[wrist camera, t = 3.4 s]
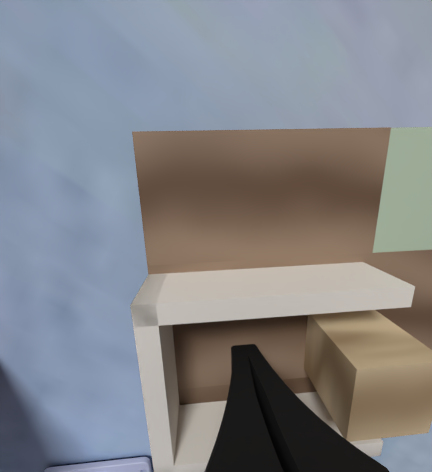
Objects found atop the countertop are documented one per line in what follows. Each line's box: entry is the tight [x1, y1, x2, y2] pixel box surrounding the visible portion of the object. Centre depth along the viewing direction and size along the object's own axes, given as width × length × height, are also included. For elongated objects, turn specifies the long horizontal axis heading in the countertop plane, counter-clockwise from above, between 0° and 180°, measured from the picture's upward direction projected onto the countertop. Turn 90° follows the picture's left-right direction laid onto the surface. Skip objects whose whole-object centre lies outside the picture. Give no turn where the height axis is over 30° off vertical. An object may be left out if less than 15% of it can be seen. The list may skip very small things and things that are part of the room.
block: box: [304, 310, 432, 442], centre depth 11 cm, size 4×4×4 cm
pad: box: [373, 127, 432, 253], centre depth 12 cm, size 6×7×2 cm
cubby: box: [130, 262, 415, 472], centre depth 11 cm, size 10×12×3 cm
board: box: [132, 128, 432, 405], centre depth 13 cm, size 17×26×2 cm, turn 92°
